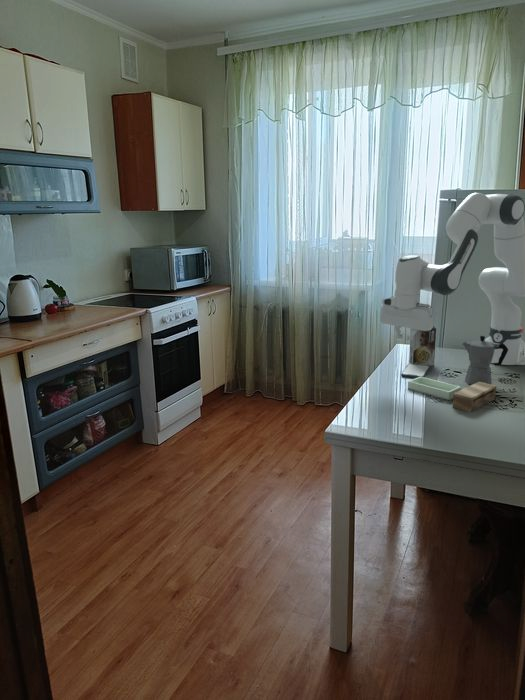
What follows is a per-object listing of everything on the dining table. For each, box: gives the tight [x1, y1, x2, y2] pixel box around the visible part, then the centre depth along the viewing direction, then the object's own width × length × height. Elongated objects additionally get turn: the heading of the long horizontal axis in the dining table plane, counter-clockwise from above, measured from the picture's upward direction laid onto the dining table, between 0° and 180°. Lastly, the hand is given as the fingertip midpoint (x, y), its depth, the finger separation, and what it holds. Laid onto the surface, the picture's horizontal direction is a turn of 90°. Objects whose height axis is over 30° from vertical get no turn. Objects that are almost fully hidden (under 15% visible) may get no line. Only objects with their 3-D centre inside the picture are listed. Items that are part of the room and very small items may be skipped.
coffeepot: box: [462, 335, 508, 386], centre depth 187 cm, size 15×9×18 cm, turn 66°
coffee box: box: [408, 325, 437, 367], centre depth 212 cm, size 9×6×16 cm
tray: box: [407, 376, 462, 401], centre depth 181 cm, size 8×16×3 cm, turn 41°
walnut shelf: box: [452, 382, 497, 413], centre depth 170 cm, size 17×6×5 cm, turn 131°
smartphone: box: [400, 364, 431, 380], centre depth 203 cm, size 9×2×16 cm
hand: (404, 338), depth 186 cm, fingers open, 3 cm apart
